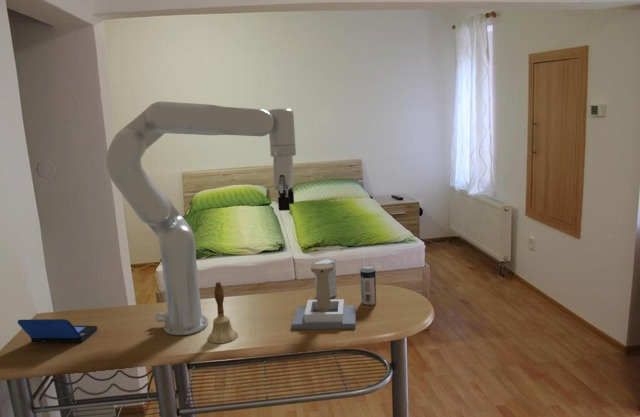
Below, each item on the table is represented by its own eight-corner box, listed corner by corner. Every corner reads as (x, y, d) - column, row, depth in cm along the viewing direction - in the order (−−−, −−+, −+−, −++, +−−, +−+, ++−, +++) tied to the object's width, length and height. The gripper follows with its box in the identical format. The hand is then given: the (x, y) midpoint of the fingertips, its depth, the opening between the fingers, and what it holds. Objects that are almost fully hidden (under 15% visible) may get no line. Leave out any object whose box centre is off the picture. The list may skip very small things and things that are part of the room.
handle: (335, 317, 149) (333, 268, 146) (313, 318, 149) (310, 269, 146) (335, 310, 153) (333, 263, 150) (313, 311, 154) (311, 263, 150)
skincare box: (328, 292, 173) (326, 258, 170) (337, 295, 169) (335, 261, 167) (315, 297, 169) (313, 263, 166) (323, 300, 166) (322, 265, 163)
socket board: (292, 329, 146) (291, 316, 145) (297, 310, 159) (297, 298, 158) (355, 328, 144) (354, 315, 143) (356, 310, 157) (355, 297, 156)
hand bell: (206, 333, 146) (201, 280, 143) (235, 328, 148) (230, 276, 145) (209, 346, 138) (204, 290, 135) (240, 340, 141) (235, 285, 137)
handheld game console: (99, 330, 153) (95, 300, 151) (73, 351, 140) (68, 319, 138) (51, 329, 155) (46, 300, 153) (20, 350, 142) (15, 319, 140)
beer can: (379, 303, 161) (378, 266, 159) (367, 307, 159) (366, 270, 156) (369, 298, 165) (368, 263, 163) (358, 302, 163) (356, 266, 160)
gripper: (275, 148, 161) (279, 201, 164) (265, 154, 144) (269, 213, 147) (299, 147, 160) (302, 201, 164) (291, 153, 143) (295, 212, 147)
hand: (286, 206), depth 156 cm, fingers open, 9 cm apart
